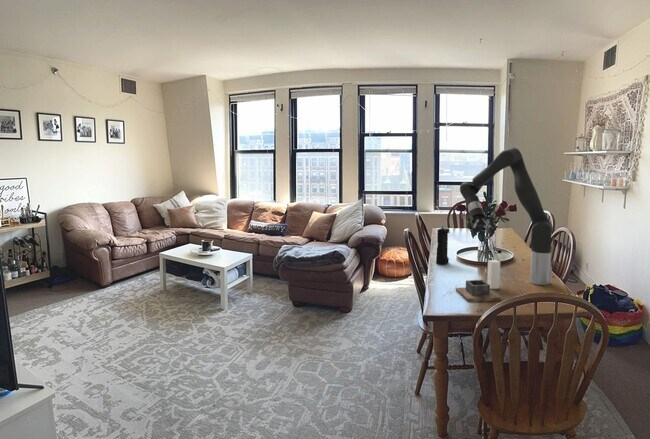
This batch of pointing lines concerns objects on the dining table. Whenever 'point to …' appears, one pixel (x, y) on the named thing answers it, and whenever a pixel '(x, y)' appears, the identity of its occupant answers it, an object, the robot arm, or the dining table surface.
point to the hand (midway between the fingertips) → (483, 234)
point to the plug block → (493, 274)
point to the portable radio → (442, 246)
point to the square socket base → (477, 291)
